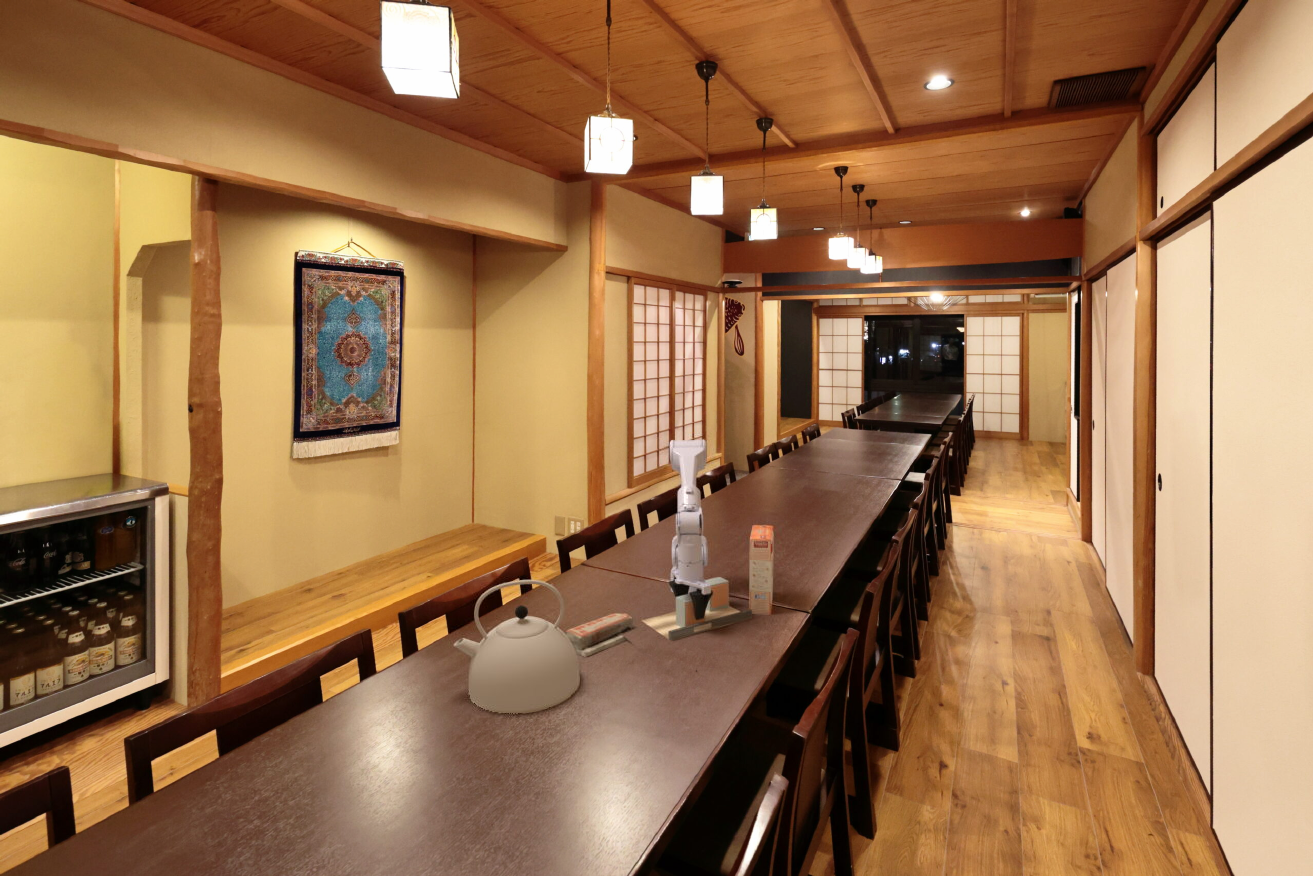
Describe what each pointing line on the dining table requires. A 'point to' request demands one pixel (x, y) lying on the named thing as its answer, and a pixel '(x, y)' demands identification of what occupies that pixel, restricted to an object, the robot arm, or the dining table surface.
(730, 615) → the shelf board
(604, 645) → the packaged product
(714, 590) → the faced carton
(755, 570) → the cracker box
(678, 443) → the robot arm
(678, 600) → the turn carton
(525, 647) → the kettle
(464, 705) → the dining table surface
